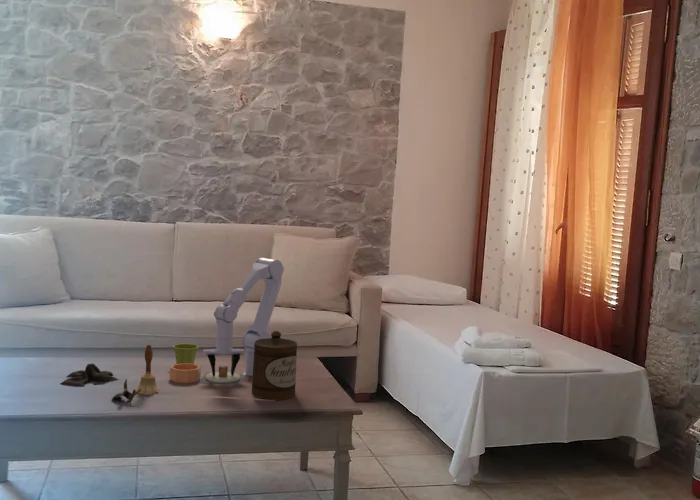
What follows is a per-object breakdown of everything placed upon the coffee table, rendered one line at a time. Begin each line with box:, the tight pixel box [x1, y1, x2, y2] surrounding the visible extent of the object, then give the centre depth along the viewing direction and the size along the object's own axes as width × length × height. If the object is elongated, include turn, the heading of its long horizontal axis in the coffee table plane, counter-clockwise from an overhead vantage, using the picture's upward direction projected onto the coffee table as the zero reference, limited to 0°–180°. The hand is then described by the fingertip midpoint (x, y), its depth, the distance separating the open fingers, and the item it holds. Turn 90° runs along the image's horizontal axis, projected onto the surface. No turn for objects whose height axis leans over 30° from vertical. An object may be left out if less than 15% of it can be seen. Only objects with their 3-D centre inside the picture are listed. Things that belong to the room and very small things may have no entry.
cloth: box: [59, 363, 119, 388], centre depth 263 cm, size 22×19×6 cm
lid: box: [205, 365, 240, 383], centre depth 271 cm, size 12×12×4 cm
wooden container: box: [251, 330, 298, 401], centre depth 256 cm, size 15×15×22 cm
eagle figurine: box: [111, 378, 141, 404], centre depth 240 cm, size 8×7×9 cm
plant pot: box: [172, 343, 199, 364], centre depth 285 cm, size 9×9×9 cm
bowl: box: [169, 363, 202, 384], centre depth 268 cm, size 10×10×5 cm
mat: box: [197, 372, 247, 387], centre depth 271 cm, size 15×15×1 cm
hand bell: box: [135, 344, 160, 396], centre depth 252 cm, size 8×8×16 cm
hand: (223, 374), depth 271 cm, fingers open, 6 cm apart
